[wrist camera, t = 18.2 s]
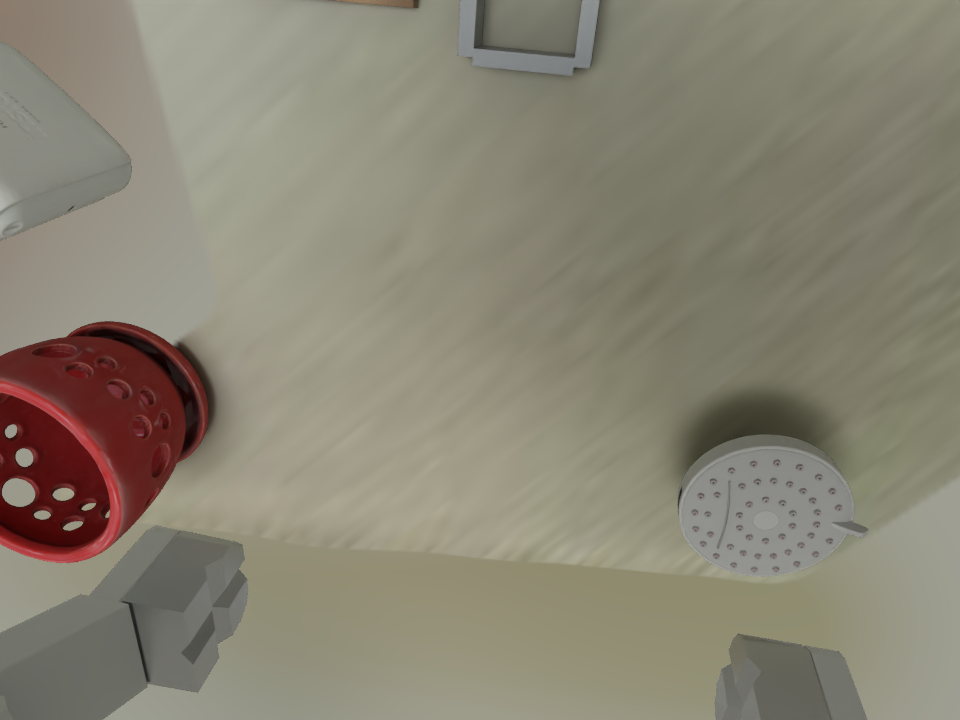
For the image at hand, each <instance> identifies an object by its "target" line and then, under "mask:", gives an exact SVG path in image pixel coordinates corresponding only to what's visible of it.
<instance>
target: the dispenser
mask: <svg viewBox="0 0 960 720" xmlns="http://www.w3.org/2000/svg"><path fill="white" fill-rule="evenodd" d="M599 5H600V0H582V6H581V14H580V21H579V29H578V36H577V44H576V52H575V55H573V54H563V53H552V52H542V51H532V50H521V49H511V48H500V47H490V46H482V34H483V20H484V6H485V0H460V14H459V32H458V50H457V56H465V57H473V64H472V66H478V67H488V68H498V69H508V70H518V71H528V72H538V73H548V74H558V75H568V76H573V74H574V71H575V67H577V68H588V69H590V66H591V61H592V54H593V47H594V40H595V33H596V26H597V19H598V12H599Z"/></svg>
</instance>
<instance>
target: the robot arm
mask: <svg viewBox="0 0 960 720" xmlns="http://www.w3.org/2000/svg"><path fill="white" fill-rule="evenodd" d="M244 560H245V557H244V552H243V545H242V544H240V543H238V542H235V541H230V540H225V539H220V538H216V537H211V536H206V535H202V534H197V533H192V532H187V531H180V530H175V529H170V528H166V527H161V526H157V525H156V526H155V527H152V528H150V529H148V530H147V531H146V532H145V533H144V534H143V535H142V536H141V537H140V538H139V540H138V541H137V542H136V543H135V544H134V545H133V546H132V548H131V549H130V550H129V551H128V552H127V553H126V554H125V555H124V557H123V558H122V559H121V560H120V561H119V562H118V564H116V566H115V567H114V568H113V569H112V570H111V571H110V572H109V574H108V575H107V576H106V577H105V578H104V579H103V580H102V582H101V583H100V584H99V585H98V586H97V587H96V588H95V590H94V591H93V592H92V593H91V594H90V595H89V596H87V595H81V594H80V595H78V596H76V597H74V598H72V599H70V600H68V601H66V602H64V603H61V604H59V605H57V606H55V607H53V608H51V609H49V610H47V611H45V612H43V613H41V614H39V615H37V616H34V617H32V618H30V619H28V620H26V621H24V622H22V623H20V624H18V625H16V626H14V627H12V628H10V629H7V630H5V631H3V632H1V633H0V720H103V719H104V718H105V717H107V716H108V715H110V714H111V713H112V712H114V711H115V710H117V709H118V708H119V707H121V706H122V705H123V704H125V703H126V702H127V701H129V700H130V699H132V698H133V697H134V696H136V695H137V694H139V693H140V692H141V691H143V690H144V689H145V688H147V684H152V685H158V686H164V687H169V688H175V689H180V690H186V691H191V692H199V690H200V688H201V687H202V685H203V683H204V682H205V680H206V678H207V677H208V675H209V674H210V672H211V670H212V669H213V667H214V665H215V664H216V662H217V660H218V658H219V654H218V647H217V644H218V643H220V642H222V641H223V640H225V639H227V638H228V637H230V636H232V635H233V633H234V631H235V630H236V628H237V626H238V624H239V623H240V621H241V618H242V615H243V612H244V609H245V606H246V603H247V595H248V584H247V578H246V577H245V576H244V574H243V573H242V572H241V571H240V570H239V567H240V566H241V564H242V563H243V561H244ZM729 653H730V659H731V664H730V665H728V666H726V667H724V668H723V669H722V670H721V673H720V676H719V680H718V682H717V688H716V697H715V716H716V720H867V717H866V714H865V712H864V709H863V706H862V704H861V701H860V698H859V696H858V693H857V690H856V687H855V685H854V682H853V679H852V677H851V674H850V671H849V669H848V666H847V663H846V660H845V658H844V657H843V656H842V654H841V653H840V652H839V651H833V650H828V649H822V648H816V647H810V646H802V645H801V644H795V643H789V642H783V641H777V640H772V639H766V638H760V637H754V636H749V635H743V634H737V635H736V636H735V637H734V638H733V640H732V643H731V646H730V648H729Z"/></svg>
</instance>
